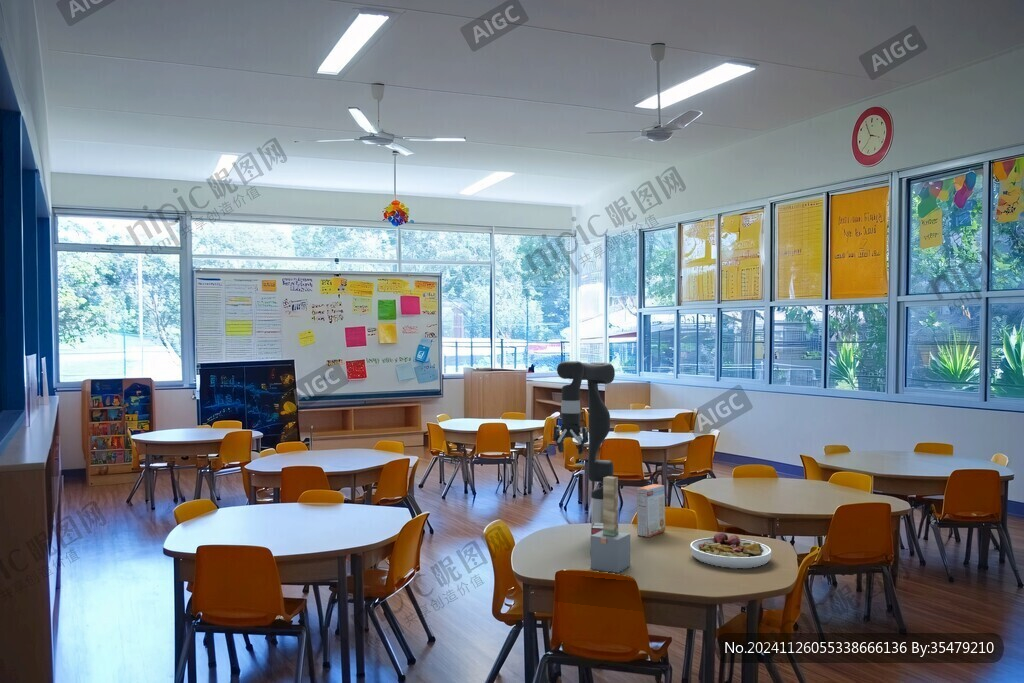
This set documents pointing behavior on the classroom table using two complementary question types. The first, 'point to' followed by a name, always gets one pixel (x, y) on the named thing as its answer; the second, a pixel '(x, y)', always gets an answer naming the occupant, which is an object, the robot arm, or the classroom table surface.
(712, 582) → the classroom table surface
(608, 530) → the post
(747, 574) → the classroom table surface
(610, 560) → the grey box
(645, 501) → the cracker box
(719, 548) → the plate of food
